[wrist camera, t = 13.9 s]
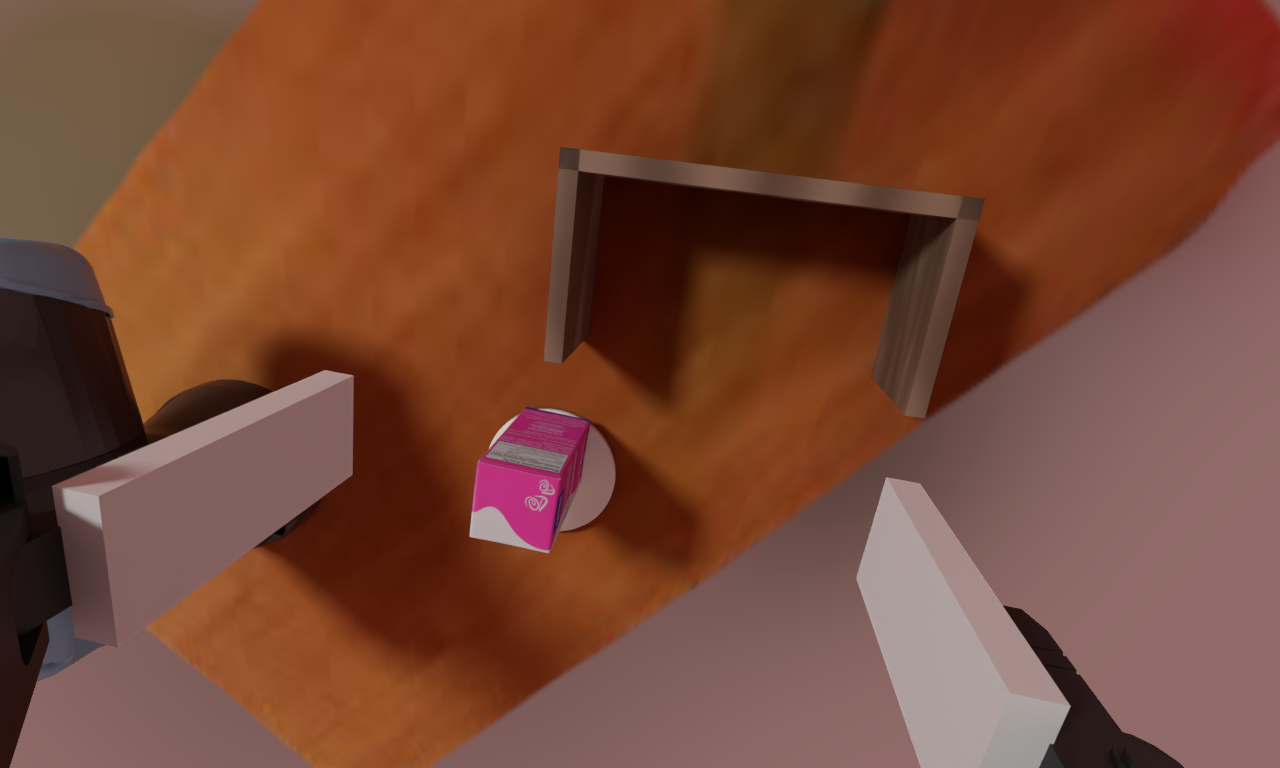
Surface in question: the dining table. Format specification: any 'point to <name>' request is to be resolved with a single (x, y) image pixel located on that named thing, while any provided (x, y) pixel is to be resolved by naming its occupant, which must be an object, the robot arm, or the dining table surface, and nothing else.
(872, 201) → the cubby
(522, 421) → the supplement box
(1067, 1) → the dining table surface
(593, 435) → the pebble
